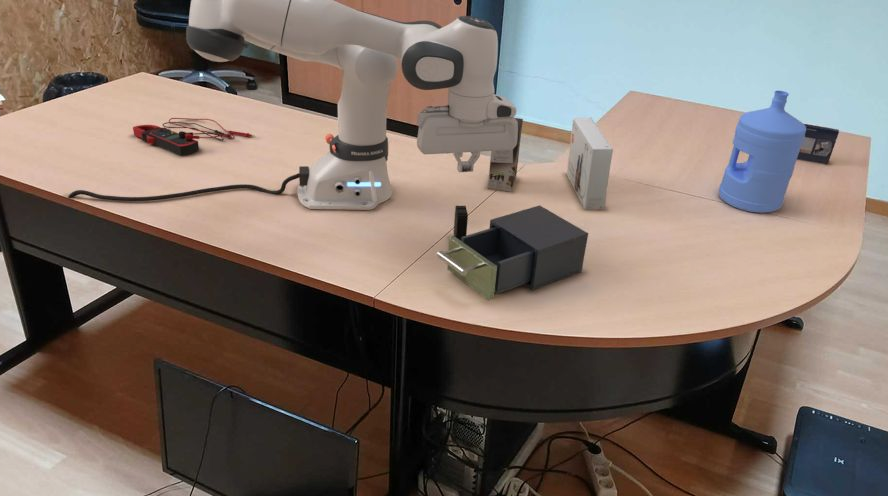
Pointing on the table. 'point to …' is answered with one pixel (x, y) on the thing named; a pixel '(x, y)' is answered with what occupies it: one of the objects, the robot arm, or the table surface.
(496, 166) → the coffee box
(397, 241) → the table surface
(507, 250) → the drawer
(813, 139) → the vhs cassette tape
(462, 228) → the ink cartridge
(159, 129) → the digital clamp meter
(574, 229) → the cabinet
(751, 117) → the water jug
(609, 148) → the skincare box
